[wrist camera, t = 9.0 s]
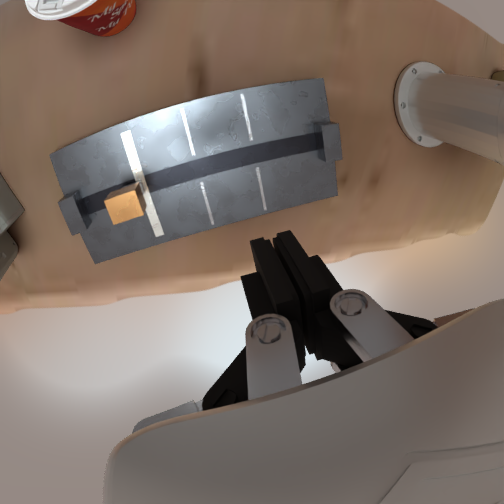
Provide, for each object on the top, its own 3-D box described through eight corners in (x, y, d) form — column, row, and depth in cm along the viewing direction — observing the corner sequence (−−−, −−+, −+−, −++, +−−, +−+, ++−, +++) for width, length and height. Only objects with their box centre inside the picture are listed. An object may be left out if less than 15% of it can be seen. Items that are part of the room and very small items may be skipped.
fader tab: (143, 174, 27) (134, 190, 23) (150, 195, 29) (143, 214, 24) (116, 183, 27) (104, 201, 23) (124, 204, 28) (113, 225, 24)
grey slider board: (315, 78, 28) (331, 77, 25) (330, 190, 35) (345, 201, 32) (56, 151, 26) (41, 158, 22) (98, 255, 33) (91, 273, 30)
